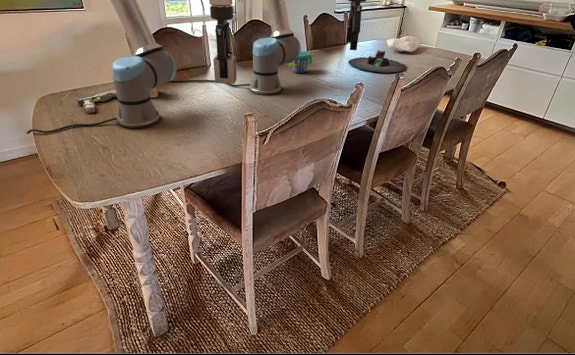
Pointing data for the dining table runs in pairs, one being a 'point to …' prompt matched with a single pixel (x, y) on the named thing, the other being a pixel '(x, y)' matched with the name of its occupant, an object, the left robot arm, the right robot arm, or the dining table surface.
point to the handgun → (95, 100)
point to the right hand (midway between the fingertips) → (351, 46)
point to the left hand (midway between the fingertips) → (225, 75)
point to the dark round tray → (377, 63)
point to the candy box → (154, 92)
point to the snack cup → (301, 62)
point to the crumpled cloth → (404, 44)
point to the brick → (230, 67)
